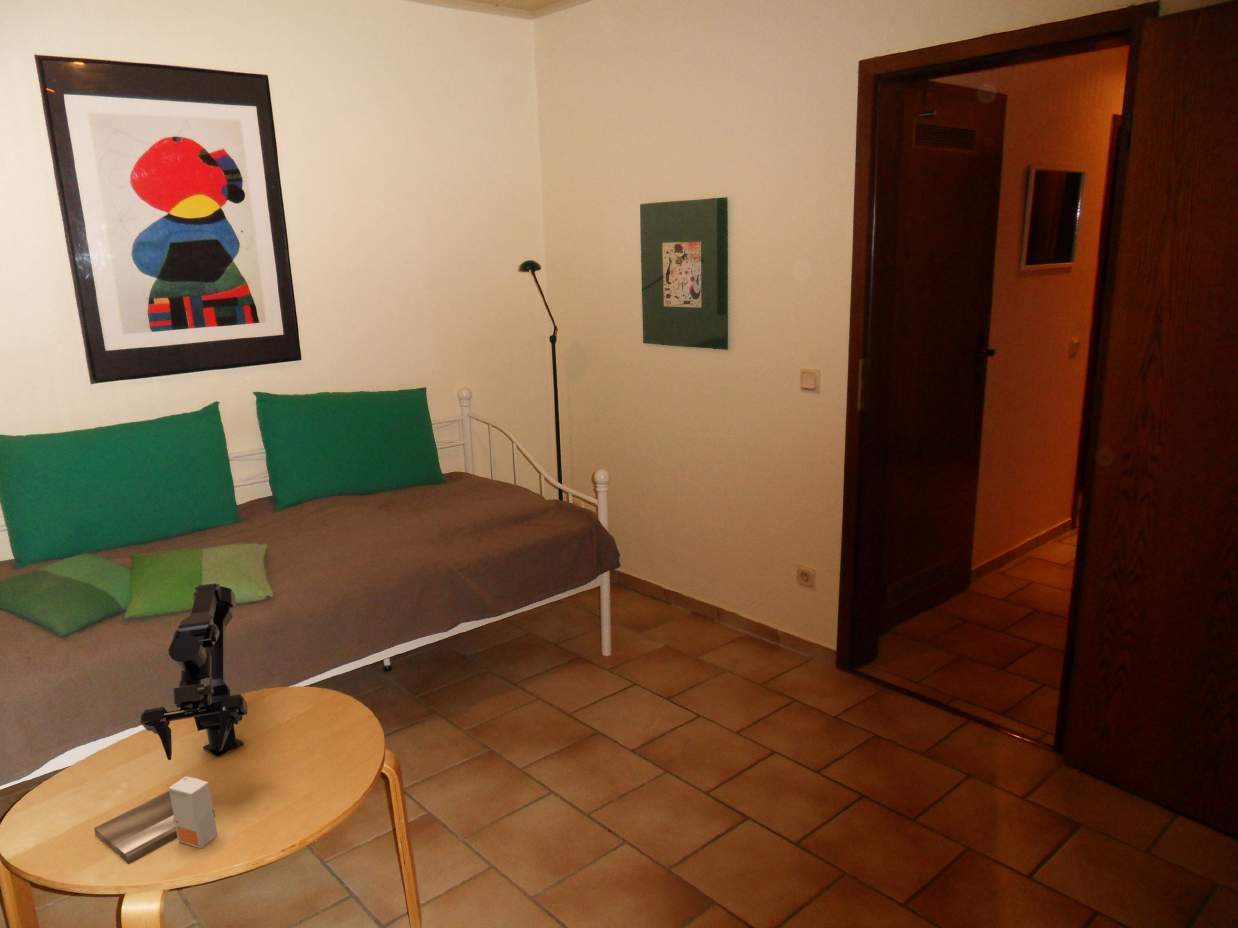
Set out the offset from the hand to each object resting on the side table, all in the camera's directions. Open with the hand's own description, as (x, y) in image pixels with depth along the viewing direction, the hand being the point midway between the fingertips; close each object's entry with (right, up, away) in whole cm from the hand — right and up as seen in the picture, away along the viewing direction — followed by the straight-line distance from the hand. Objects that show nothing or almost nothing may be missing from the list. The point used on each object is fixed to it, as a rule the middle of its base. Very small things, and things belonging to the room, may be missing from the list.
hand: (194, 754), depth 169 cm
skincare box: (+3, -15, -4) cm, 16 cm away
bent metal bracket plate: (-8, -14, 0) cm, 16 cm away
